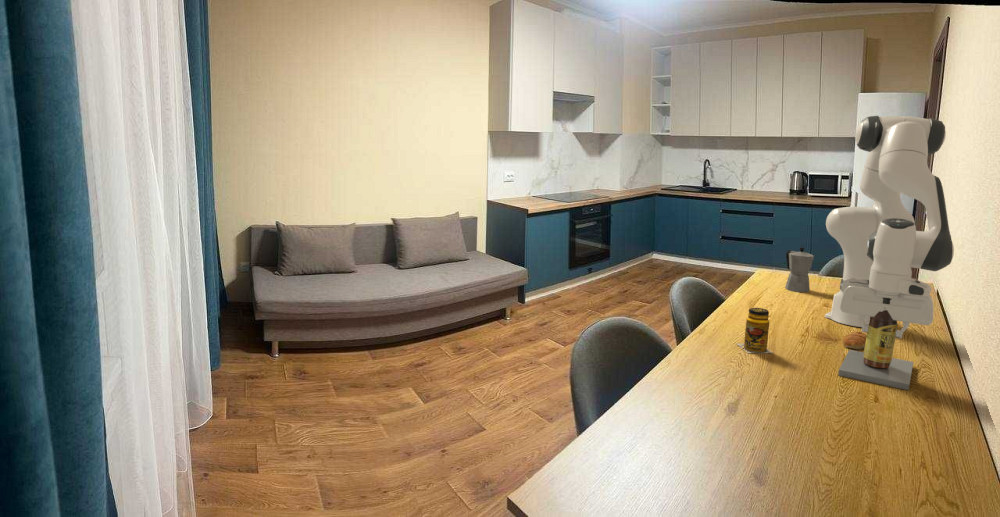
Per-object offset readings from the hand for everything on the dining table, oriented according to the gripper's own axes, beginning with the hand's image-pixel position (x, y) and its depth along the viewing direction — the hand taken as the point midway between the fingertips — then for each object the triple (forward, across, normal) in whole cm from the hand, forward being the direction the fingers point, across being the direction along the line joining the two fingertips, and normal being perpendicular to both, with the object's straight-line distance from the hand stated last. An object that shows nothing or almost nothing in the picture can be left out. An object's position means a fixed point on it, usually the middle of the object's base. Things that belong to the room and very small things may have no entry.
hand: (881, 334), depth 153 cm
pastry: (+10, -7, +21) cm, 25 cm away
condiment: (+10, -30, -2) cm, 32 cm away
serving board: (+10, 0, 0) cm, 10 cm away
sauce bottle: (+9, 0, 0) cm, 9 cm away
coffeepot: (+10, -36, +90) cm, 98 cm away
